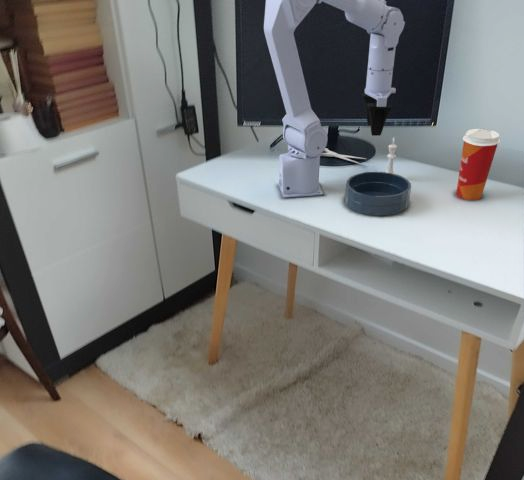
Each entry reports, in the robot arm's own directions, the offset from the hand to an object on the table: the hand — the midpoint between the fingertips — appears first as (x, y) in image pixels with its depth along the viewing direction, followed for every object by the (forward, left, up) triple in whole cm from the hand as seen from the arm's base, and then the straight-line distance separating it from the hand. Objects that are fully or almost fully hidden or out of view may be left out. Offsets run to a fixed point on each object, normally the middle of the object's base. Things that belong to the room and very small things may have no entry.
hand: (373, 129), depth 132 cm
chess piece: (+3, -5, -11) cm, 12 cm away
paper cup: (+18, -18, -11) cm, 28 cm away
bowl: (-4, -18, -10) cm, 21 cm away
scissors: (-7, +12, -10) cm, 17 cm away
